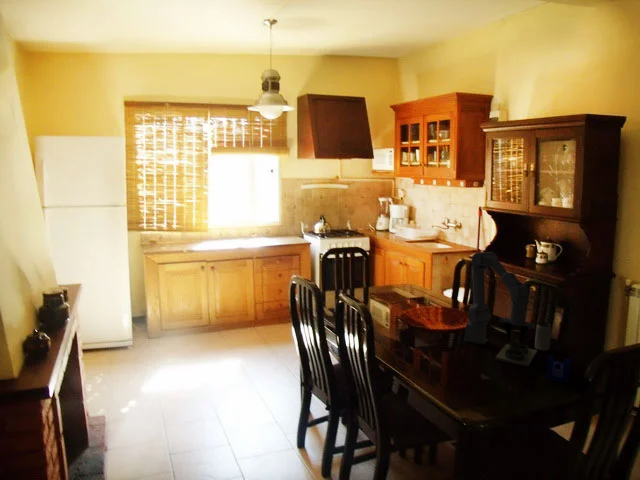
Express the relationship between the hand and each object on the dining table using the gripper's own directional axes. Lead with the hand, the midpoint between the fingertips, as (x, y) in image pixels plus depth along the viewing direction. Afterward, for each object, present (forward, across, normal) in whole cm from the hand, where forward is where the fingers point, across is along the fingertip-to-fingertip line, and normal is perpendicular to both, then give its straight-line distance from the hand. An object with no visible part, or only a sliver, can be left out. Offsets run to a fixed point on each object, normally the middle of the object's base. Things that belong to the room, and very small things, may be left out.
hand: (515, 341), depth 236 cm
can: (+9, +8, +21) cm, 24 cm away
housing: (+8, 0, +5) cm, 10 cm away
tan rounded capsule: (+2, 0, 0) cm, 2 cm away
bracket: (+9, +19, -5) cm, 21 cm away
